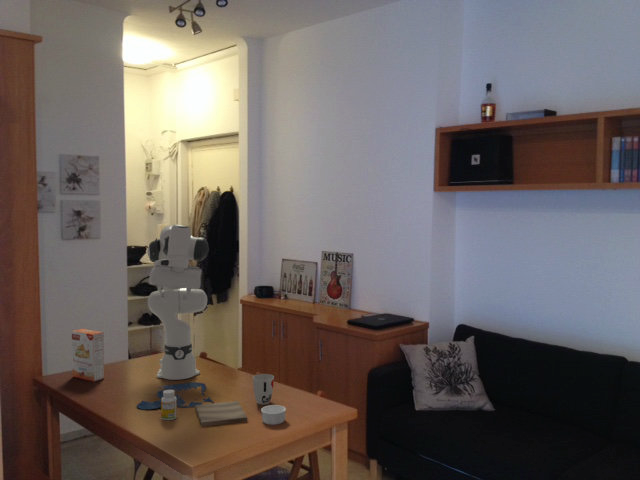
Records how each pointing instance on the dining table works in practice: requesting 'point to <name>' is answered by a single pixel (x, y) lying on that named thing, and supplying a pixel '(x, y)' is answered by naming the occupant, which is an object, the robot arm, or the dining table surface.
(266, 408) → the ramekin
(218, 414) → the wooden board
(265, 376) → the cup
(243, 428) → the dining table surface
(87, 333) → the cracker box
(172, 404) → the supplement bottle
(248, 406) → the dining table surface
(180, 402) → the blue cloth
